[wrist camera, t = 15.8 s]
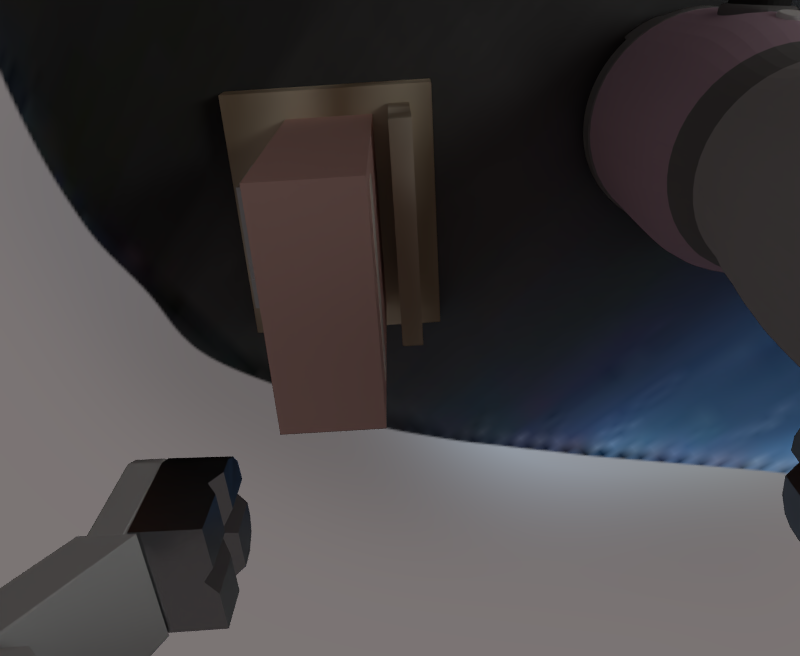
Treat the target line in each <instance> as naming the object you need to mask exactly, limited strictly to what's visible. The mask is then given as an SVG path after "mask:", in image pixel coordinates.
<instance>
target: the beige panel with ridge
mask: <svg viewBox="0 0 800 656" xmlns="http://www.w3.org/2000/svg"><path fill="white" fill-rule="evenodd" d="M218 97H219V103H220V109H221V115H222V121H223V127H224V133H225V139H226V145H227V151H228V157H229V163H230V169H231V175H232V181H233V187H234V192H235V198H236V204H237V210H238V216H239V222H240V228H241V234H242V240H243V246H244V252H245V258H246V264H247V270H248V276H249V282H250V288H251V294H252V300H253V306H254V312H255V318H256V324H257V330H258V333H263V332H264V331H263V324H262V318H261V312H260V308H256V306H255V300H254V294H253V288H252V282H251V276H250V270H249V264H248V258H247V252H246V246H245V240H244V234H243V228H242V222H241V216H240V210H239V204H238V197H237V191H236V187H237V185H238V184H239V183H240V181H241V180H242V178H243V177H244V176H245V174H246V173H247V171H248V170H249V169H250V167H251V166H252V165H253V164H254V163H255V161H256V160H257V158H258V157H259V156H260V154H261V153H262V151H263V150H264V148H265V147H266V146H267V144H268V143H269V141H270V140H271V139H272V137H273V136H274V134H275V133H276V132H277V130H278V129H279V127H280V126H281V125H282V123H283V122H284V120H285V119H300V118H315V117H331V116H346V115H362V114H372V116H373V129H374V143H375V156H376V169H377V183H378V196H379V209H380V223H381V236H382V249H383V263H384V276H385V289H386V303H387V325H394V324H401V325H402V340H403V346H415V345H423V329H422V323H426V322H440V301H439V275H438V249H437V223H436V197H435V171H434V145H433V119H432V93H431V80H430V78H427V79H411V80H396V81H381V82H365V83H350V84H335V85H319V86H304V87H289V88H273V89H258V90H243V91H227V92H223V93H221V94H220V95H218Z"/></svg>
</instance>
